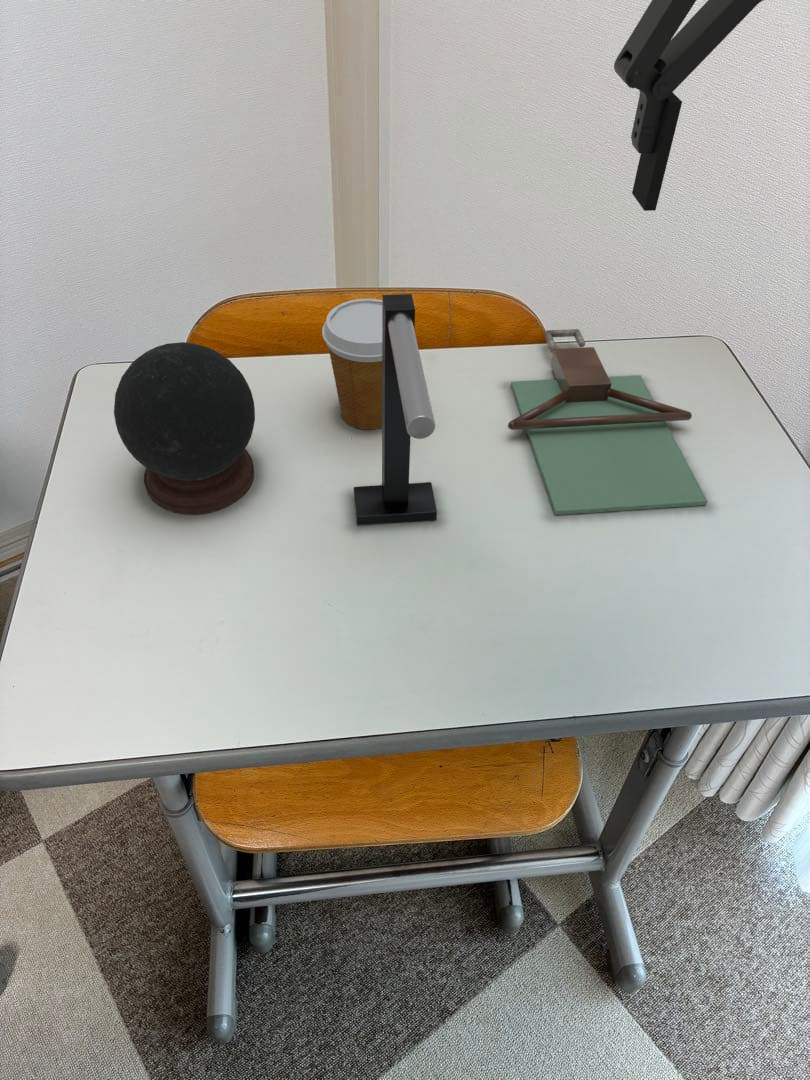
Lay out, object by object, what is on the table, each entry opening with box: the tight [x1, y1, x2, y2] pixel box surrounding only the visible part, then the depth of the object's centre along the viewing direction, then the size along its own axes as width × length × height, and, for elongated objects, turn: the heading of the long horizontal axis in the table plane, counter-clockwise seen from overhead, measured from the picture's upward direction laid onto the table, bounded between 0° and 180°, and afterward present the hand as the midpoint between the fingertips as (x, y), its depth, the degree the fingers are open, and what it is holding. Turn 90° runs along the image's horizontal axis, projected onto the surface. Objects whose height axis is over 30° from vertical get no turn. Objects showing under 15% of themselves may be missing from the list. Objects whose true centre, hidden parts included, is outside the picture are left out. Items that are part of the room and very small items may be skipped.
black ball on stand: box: [113, 341, 256, 515], centre depth 78 cm, size 13×13×15 cm
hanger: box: [507, 328, 693, 431], centre depth 94 cm, size 21×2×18 cm
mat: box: [510, 374, 708, 516], centre depth 89 cm, size 22×16×1 cm
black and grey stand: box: [353, 293, 438, 526], centre depth 68 cm, size 8×17×23 cm, turn 7°
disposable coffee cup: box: [321, 298, 382, 430], centre depth 87 cm, size 10×10×12 cm
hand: (741, 199), depth 53 cm, fingers open, 13 cm apart
